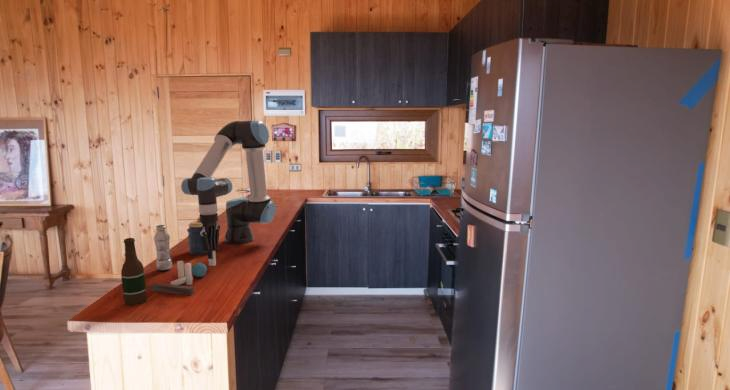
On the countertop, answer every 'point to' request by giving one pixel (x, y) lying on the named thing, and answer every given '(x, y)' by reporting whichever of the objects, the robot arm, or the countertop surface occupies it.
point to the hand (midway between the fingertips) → (212, 265)
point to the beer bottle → (133, 276)
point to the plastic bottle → (162, 248)
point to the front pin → (179, 281)
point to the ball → (199, 269)
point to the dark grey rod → (172, 289)
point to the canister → (195, 238)
